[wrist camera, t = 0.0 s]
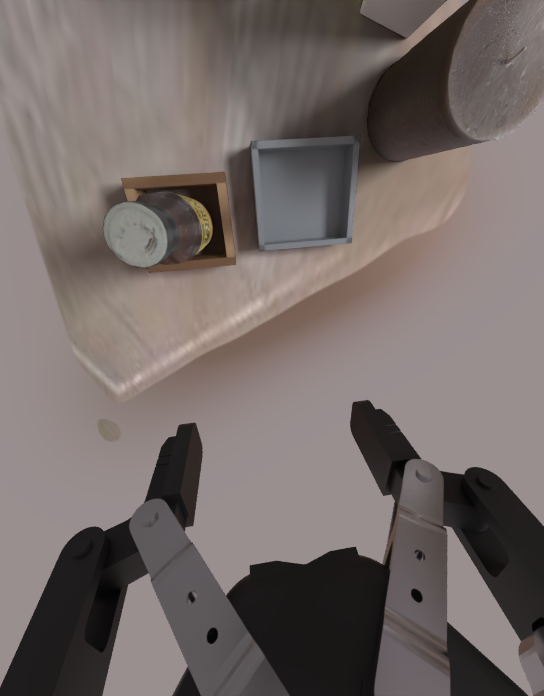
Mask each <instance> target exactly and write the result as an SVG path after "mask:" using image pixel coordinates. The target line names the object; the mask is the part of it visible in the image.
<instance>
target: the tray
mask: <svg viewBox="0 0 544 696" xmlns="http://www.w3.org/2000/svg"><path fill="white" fill-rule="evenodd" d="M359 147H360V135H358V136H339V137H320V138H302V139H283V140H264V141H251V143H250V157H251V169H252V181H253V193H254V205H255V217H256V229H257V241H258V248H259V250H260V251H266V250H278V249H289V248H301V247H313V246H324V245H336V244H347V243H352V231H353V219H354V207H355V195H356V183H357V171H358V159H359Z"/></svg>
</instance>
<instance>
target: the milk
mask: <svg viewBox="0 0 544 696" xmlns="http://www.w3.org/2000/svg"><path fill="white" fill-rule="evenodd" d="M446 1H447V0H363V2H362V6H361V9H360V14H362V15H364V16H366V17H368V18H370V19H371V20H373V21H375V22H377V23H379V24H381V25H383V26H385V27H386V28H388V29H390V30H392V31H394V32H396V33H398V34H399V35H401V36H403V37H405V38H408V37H409V36H410V35H411V34H412V33H413V32H414V31H415V30H417V29H418V28H419V27H420V26H421V25H422V24H423V23H424V22H425V21H426V20H427V19H428V18H429V17H430V16H431V15H432V14H433V13H434V12H435V11H436V10H437V9H438V8H439V7H440V6H441V5H443V4H444V3H445V2H446Z"/></svg>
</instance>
